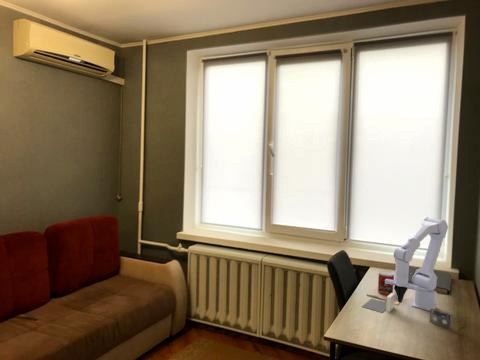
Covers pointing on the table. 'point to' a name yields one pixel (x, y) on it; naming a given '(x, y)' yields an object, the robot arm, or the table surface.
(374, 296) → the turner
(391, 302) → the tile
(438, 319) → the mini dv tape
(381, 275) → the canned food
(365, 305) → the mat
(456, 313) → the table surface
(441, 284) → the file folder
